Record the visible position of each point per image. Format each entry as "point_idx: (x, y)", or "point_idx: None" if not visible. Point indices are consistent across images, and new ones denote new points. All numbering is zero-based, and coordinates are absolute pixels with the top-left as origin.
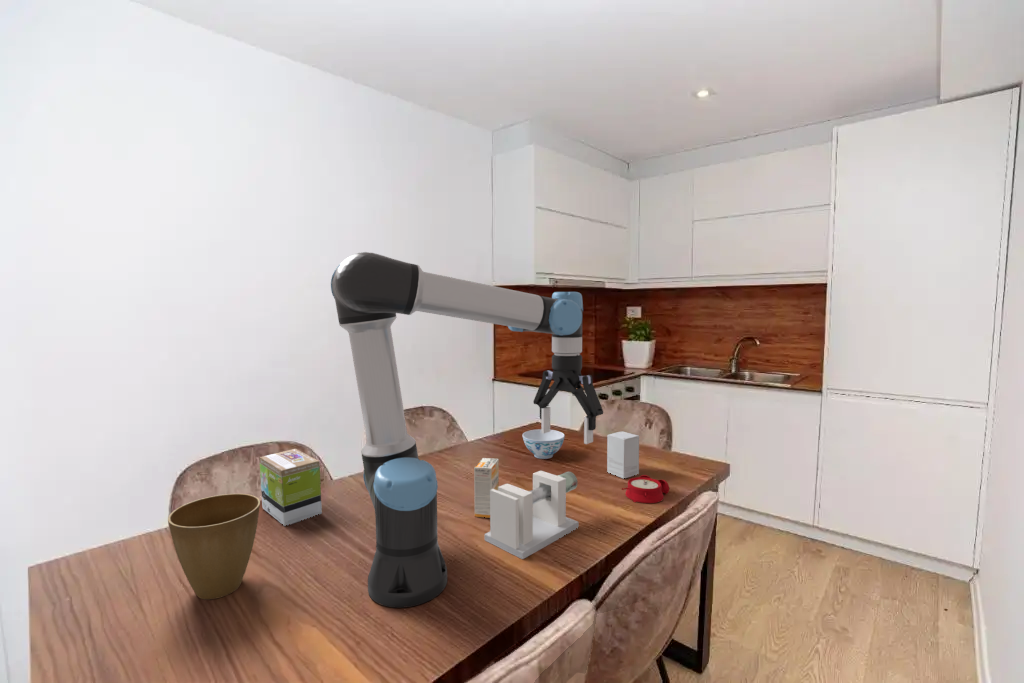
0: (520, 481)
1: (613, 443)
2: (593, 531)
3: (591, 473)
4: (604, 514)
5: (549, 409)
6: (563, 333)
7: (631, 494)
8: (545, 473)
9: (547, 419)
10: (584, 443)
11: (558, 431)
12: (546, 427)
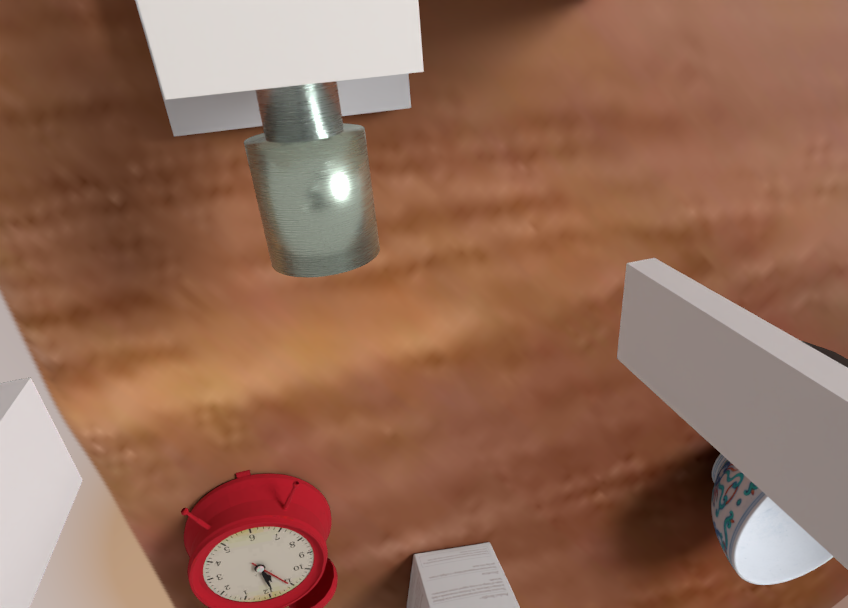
0: (674, 253)
1: None
2: (108, 161)
3: (523, 499)
4: (222, 314)
5: (826, 530)
6: None
7: (266, 491)
8: (350, 50)
9: (721, 399)
10: (22, 379)
11: (781, 581)
12: (657, 332)
